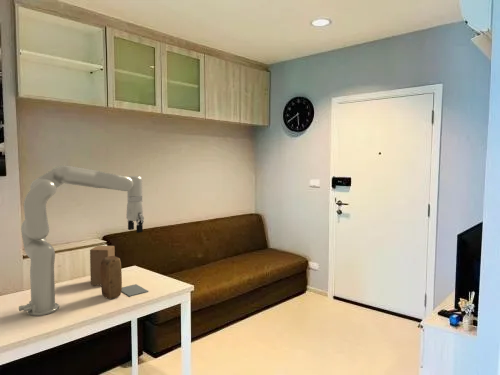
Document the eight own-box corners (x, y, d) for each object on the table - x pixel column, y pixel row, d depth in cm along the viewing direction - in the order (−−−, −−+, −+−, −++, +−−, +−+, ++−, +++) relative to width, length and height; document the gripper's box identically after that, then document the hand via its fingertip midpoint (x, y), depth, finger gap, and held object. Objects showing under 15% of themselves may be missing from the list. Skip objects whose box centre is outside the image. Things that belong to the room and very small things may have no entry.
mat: (129, 296, 185) (129, 295, 184) (117, 289, 195) (117, 288, 195) (148, 291, 192) (148, 290, 192) (136, 285, 202) (136, 284, 202)
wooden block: (108, 285, 200) (107, 249, 199) (90, 285, 200) (89, 249, 199) (115, 279, 210) (114, 245, 209) (98, 279, 210) (97, 245, 209)
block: (123, 296, 184) (122, 258, 183) (109, 301, 179) (108, 260, 177) (112, 291, 192) (112, 254, 190) (98, 295, 186) (98, 256, 184)
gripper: (120, 198, 198) (121, 229, 199) (135, 201, 185) (136, 234, 186) (133, 197, 203) (134, 227, 204) (149, 200, 190) (149, 232, 192)
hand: (135, 231), depth 195 cm, fingers open, 9 cm apart
